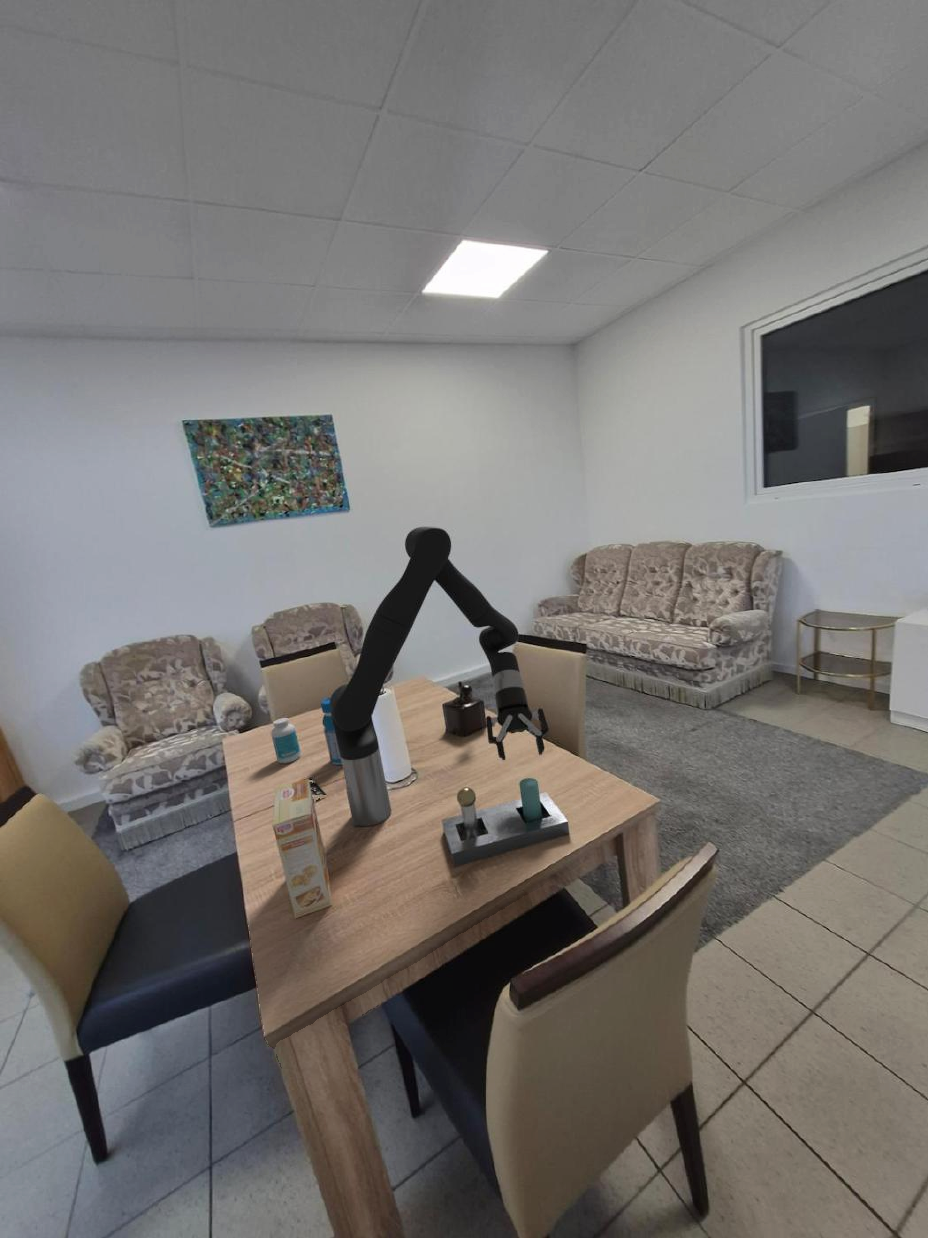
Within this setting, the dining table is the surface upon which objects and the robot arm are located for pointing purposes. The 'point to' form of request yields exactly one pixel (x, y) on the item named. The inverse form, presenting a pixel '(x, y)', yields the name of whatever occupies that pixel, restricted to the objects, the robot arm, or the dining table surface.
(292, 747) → the pill bottle
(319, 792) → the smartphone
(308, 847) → the coffeecake box
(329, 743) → the beverage bottle
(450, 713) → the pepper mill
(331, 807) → the dining table surface
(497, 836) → the hole plate
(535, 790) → the teal peg
